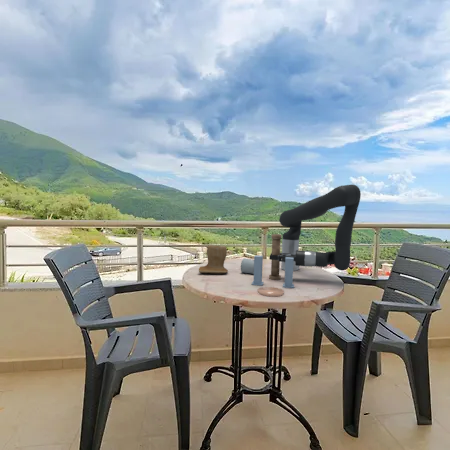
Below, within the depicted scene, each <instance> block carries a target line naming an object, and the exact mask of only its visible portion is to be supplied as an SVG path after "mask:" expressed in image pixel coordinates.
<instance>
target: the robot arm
mask: <svg viewBox="0 0 450 450" xmlns="http://www.w3.org/2000/svg"><path fill="white" fill-rule="evenodd" d="M361 196H362V195H361V188H359V186H358V185H355V184H346V185H339V186H337V187H334V189H332V190H330V191H328V192H327V193H325V194H323V195H320V196H317V197H315V198H312V199H311V200H308V201H306V202H305V203H302V204H300V205H298V206H296V207H294V208H290V209H288V210H284V211H283V212H282V213H281V214H280V216H279V223H280V225H281V226H282V227H284V228H289V229H288V231H286V232H284V233H283V234H282V236H281V241H282V244H281V252H280V255H278V256H277V255H272V252H271V253H270V255H269V260H270V261H272V260H278V261H279V262H281V268H280V269H281V270H282V271H285V258H286V257H291V258H294V260H293V272H295V271H299V270H300V267H308V268H309V267H318V268H319V267H321V268H326V267H327V266H328V265H329V266H330V265H334V267H335V268H336V269H337V270H339V271H345V270H347V269H349V267H350V264H351V245H352V244H351V243H352V238H353V237H352V234H353V229H354V223H355V221H356V217H357V212H358V209H359V205H360V201H361ZM340 207H341V208H342V207H344V212H343V215H342V217H341V219H340V221H339V223H338V224H337V228H336V230H335V235H334V236H335V237H334V239H335V240H334V247H335V250H333V251H327V252H324V251H323V252H322V251H313V250H312V251H311V250H300V248H299V247H300V236H301V232H302V230H301V229H302V223H303V222H302V221H307V220H314V219H316V218H319V217H322V216H324V215H325V214H326V213H327V212H328V211H329V210H332V209H336V208H340Z"/></svg>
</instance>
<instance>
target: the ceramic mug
mask: <svg viewBox="0 0 450 450" xmlns="http://www.w3.org/2000/svg"><path fill="white" fill-rule="evenodd" d="M240 272H241V273H242V274H248V275H249V274H252V275H254V259H251V258H245V257H244V258H243V259H242V260H241V263H240Z"/></svg>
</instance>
